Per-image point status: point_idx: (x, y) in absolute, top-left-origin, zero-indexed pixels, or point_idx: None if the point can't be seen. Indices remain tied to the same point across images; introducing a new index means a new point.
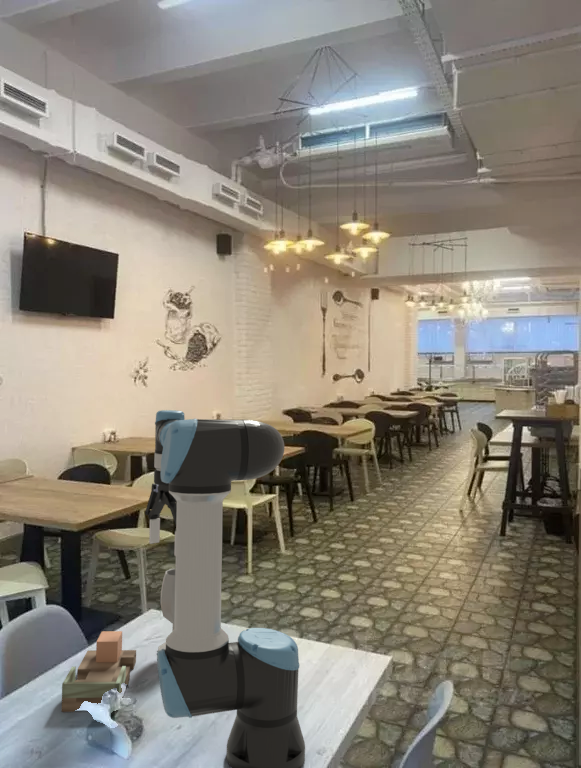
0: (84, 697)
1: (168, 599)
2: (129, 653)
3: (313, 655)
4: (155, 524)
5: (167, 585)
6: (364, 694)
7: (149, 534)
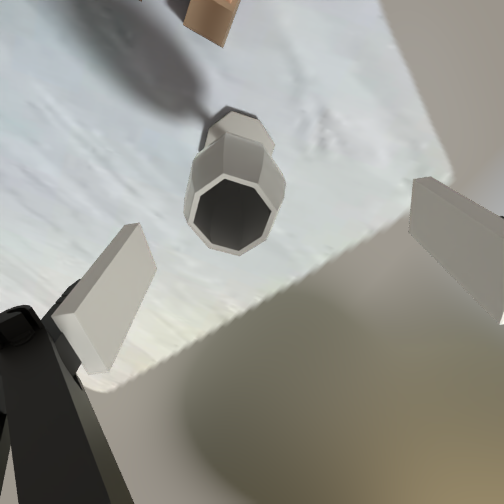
0: None
1: (202, 153)
2: (208, 20)
3: (134, 334)
4: (480, 265)
5: (207, 163)
6: None
7: (461, 195)
